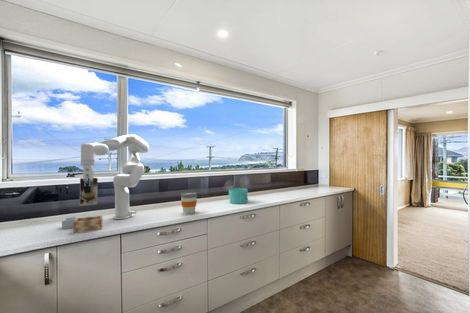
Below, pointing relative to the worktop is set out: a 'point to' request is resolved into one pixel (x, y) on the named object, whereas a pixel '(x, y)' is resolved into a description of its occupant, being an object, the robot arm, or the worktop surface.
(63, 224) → the small grey socket
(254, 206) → the worktop surface
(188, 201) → the reusable coffee cup
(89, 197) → the coffee box
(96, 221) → the wood socket
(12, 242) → the worktop surface
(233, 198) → the basket
